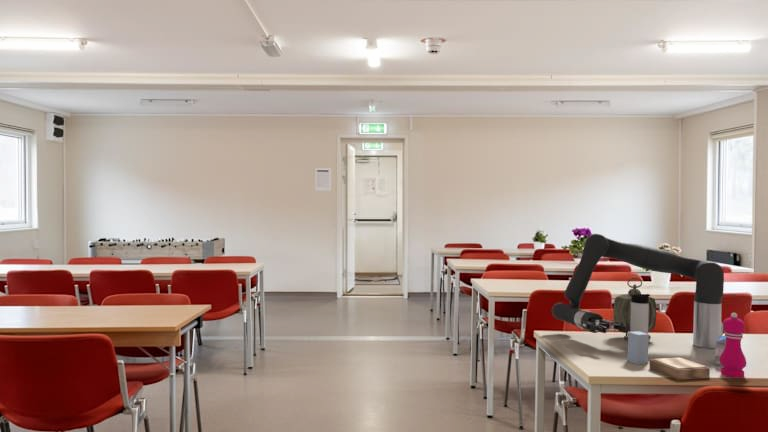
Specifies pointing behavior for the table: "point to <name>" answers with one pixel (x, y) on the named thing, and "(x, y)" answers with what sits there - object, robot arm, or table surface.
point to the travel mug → (639, 313)
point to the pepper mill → (733, 348)
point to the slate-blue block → (638, 347)
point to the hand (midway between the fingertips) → (615, 330)
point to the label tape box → (719, 349)
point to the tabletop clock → (624, 309)
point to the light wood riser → (679, 368)
